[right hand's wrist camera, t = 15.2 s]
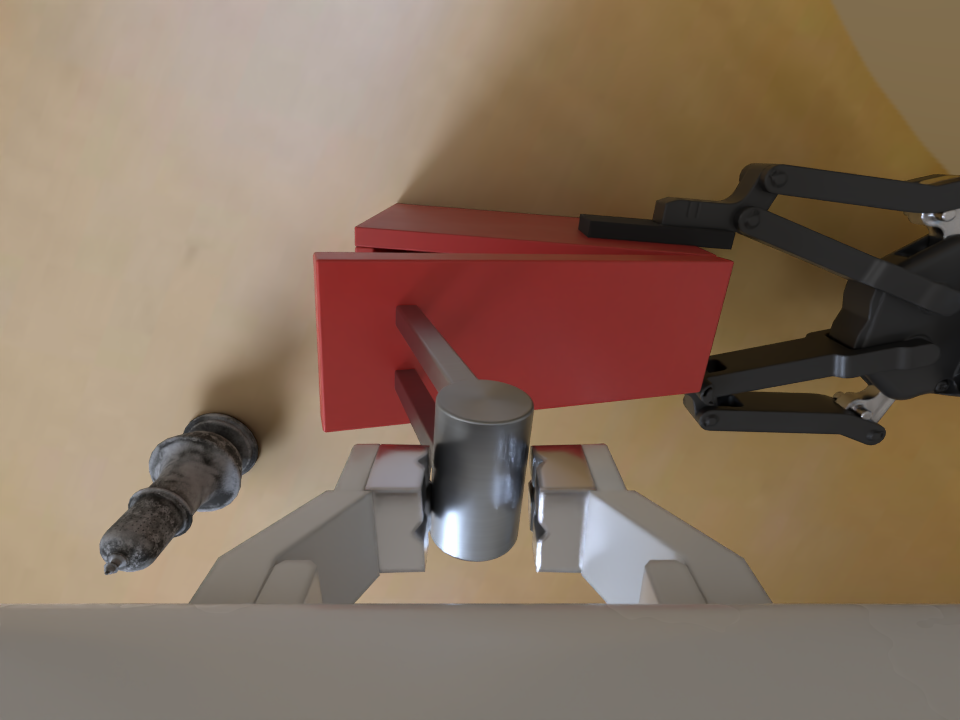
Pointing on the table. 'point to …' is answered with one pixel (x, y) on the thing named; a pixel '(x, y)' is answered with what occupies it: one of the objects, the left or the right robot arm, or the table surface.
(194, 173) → the table surface
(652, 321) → the lid
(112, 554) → the grey chess bishop
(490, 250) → the chest
